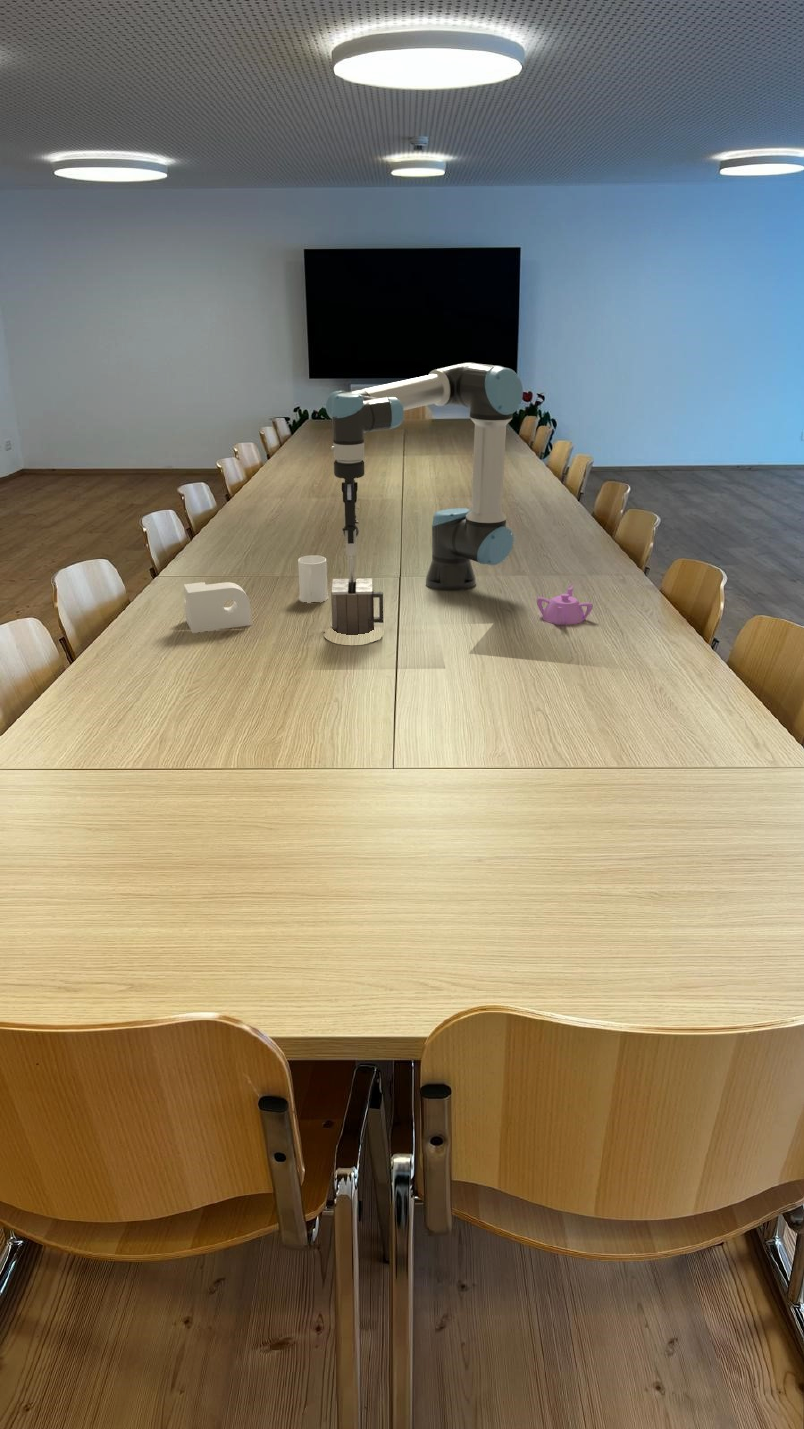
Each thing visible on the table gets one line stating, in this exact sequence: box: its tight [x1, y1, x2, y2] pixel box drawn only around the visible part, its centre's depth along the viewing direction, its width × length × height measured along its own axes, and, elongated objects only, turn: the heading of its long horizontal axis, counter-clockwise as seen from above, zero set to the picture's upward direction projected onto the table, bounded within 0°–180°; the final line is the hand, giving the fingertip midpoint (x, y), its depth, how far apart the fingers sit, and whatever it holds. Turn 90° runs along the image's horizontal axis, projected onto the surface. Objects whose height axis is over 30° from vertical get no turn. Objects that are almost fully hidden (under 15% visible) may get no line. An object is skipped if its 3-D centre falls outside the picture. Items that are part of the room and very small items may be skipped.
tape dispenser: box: [183, 581, 253, 634], centre depth 262 cm, size 16×10×13 cm, turn 110°
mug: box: [297, 554, 330, 604], centre depth 280 cm, size 12×8×12 cm
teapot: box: [536, 584, 594, 626], centre depth 263 cm, size 12×14×9 cm
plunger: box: [342, 524, 360, 594], centre depth 251 cm, size 7×7×21 cm
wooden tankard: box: [330, 577, 384, 635], centre depth 257 cm, size 14×12×13 cm
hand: (351, 551), depth 250 cm, fingers closed on plunger, 4 cm apart
